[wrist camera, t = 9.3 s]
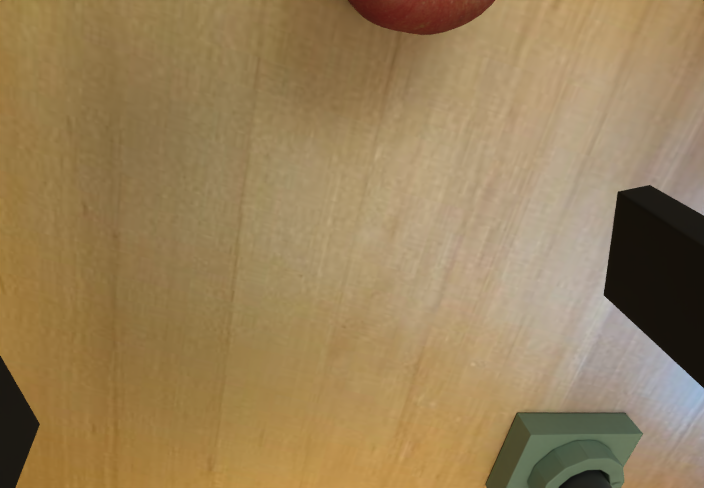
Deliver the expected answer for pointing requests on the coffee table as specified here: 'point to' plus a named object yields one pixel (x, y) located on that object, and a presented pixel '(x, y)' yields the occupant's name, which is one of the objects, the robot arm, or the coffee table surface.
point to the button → (587, 480)
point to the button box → (564, 449)
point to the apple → (420, 14)
